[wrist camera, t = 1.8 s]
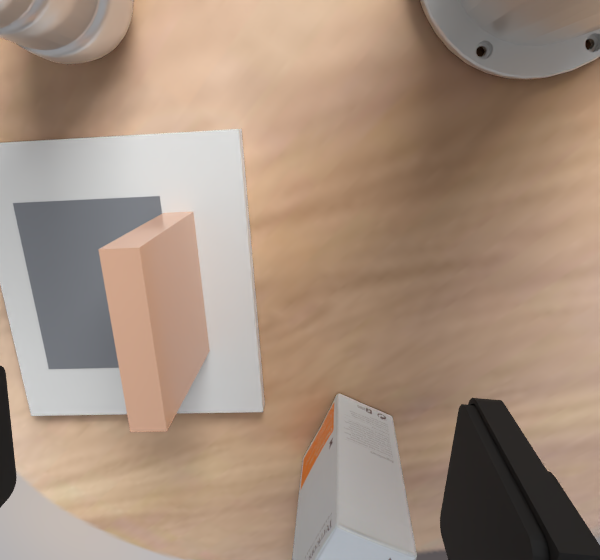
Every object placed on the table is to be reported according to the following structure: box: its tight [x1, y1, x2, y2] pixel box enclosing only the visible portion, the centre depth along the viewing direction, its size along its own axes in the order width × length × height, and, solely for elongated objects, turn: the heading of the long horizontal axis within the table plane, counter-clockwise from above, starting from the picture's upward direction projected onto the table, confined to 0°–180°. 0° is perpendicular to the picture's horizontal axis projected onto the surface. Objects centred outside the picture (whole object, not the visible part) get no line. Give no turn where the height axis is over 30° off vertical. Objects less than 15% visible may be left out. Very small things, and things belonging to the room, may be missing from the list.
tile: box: [98, 211, 210, 432], centre depth 28 cm, size 2×9×9 cm, turn 3°
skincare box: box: [292, 393, 417, 560], centre depth 30 cm, size 6×4×12 cm
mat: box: [0, 129, 265, 416], centre depth 33 cm, size 16×18×1 cm
